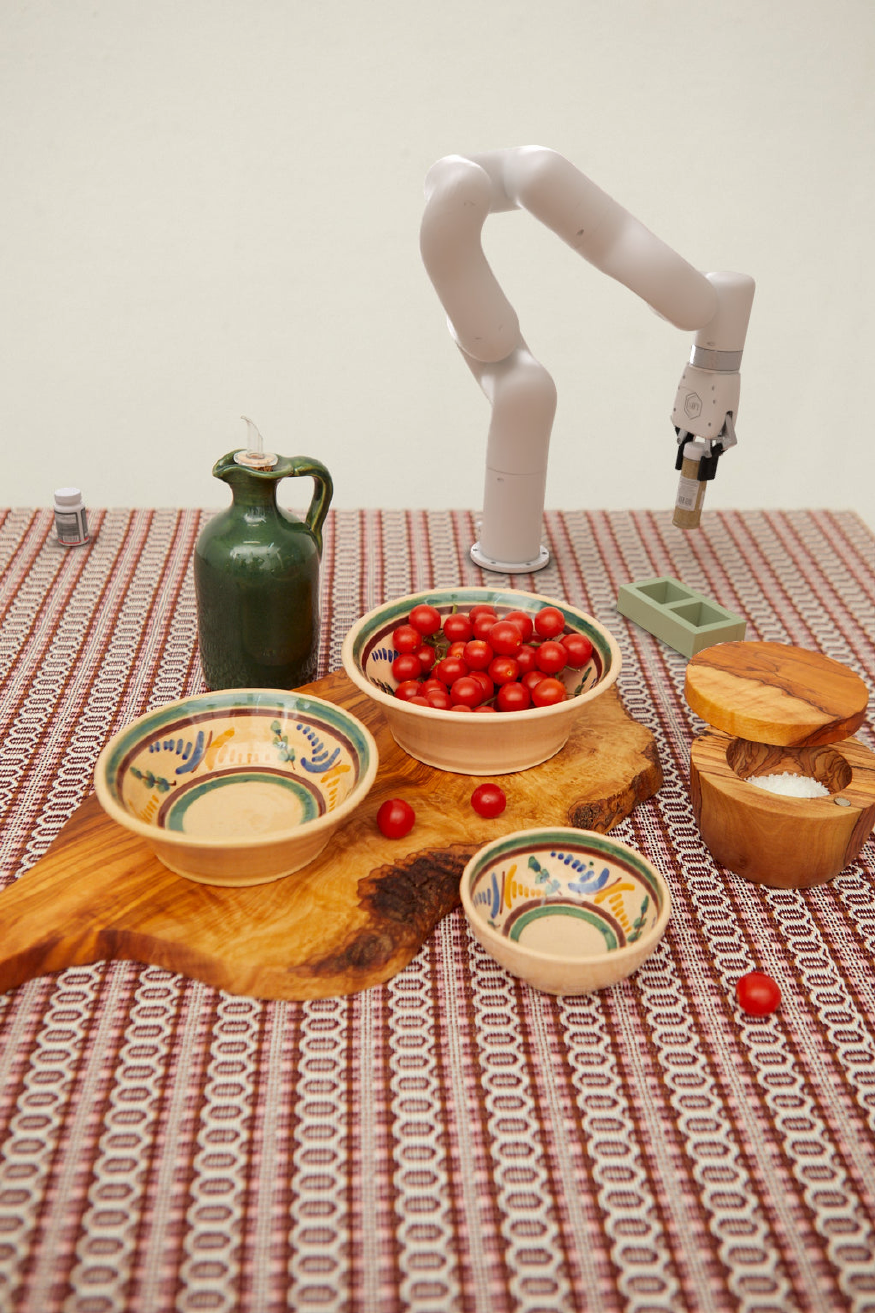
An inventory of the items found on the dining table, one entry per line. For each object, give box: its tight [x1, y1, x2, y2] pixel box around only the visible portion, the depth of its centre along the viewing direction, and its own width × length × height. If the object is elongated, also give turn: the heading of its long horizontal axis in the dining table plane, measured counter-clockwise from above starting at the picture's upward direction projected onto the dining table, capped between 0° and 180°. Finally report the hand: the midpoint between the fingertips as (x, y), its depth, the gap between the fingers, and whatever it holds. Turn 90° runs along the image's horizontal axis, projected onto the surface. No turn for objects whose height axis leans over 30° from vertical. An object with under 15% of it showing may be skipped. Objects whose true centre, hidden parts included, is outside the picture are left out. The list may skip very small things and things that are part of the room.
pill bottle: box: [53, 487, 90, 547], centre depth 173 cm, size 5×5×8 cm
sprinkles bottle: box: [671, 441, 714, 531], centre depth 174 cm, size 5×5×14 cm
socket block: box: [616, 574, 748, 660], centre depth 155 cm, size 9×17×4 cm, turn 28°
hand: (694, 473), depth 173 cm, fingers closed on sprinkles bottle, 4 cm apart
